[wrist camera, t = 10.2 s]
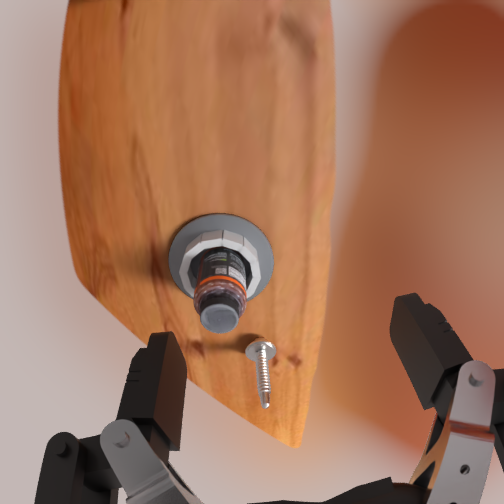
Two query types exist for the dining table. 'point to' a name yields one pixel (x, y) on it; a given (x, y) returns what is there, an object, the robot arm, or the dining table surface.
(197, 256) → the bottle coaster
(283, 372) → the dining table surface
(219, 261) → the supplement bottle
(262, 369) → the screw
